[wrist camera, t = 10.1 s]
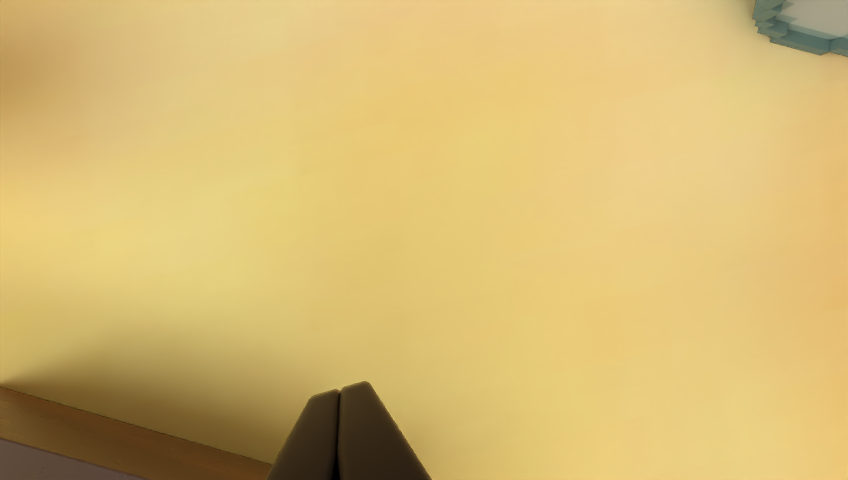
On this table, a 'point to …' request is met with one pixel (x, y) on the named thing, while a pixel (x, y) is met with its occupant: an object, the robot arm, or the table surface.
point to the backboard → (102, 448)
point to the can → (805, 24)
